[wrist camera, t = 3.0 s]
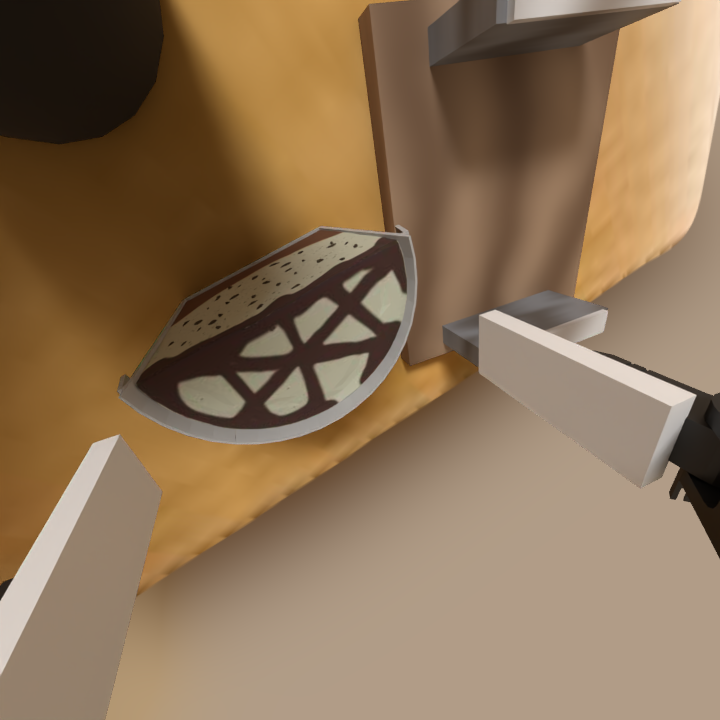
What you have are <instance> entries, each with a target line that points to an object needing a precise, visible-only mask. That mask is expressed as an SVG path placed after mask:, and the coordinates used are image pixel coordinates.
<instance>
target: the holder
mask: <svg viewBox="0 0 720 720" xmlns="http://www.w3.org/2000/svg"><path fill="white" fill-rule="evenodd" d="M679 2H681V0H409V1H398V2H386V3H375V4H369V5H368V6H367V8H366V9H365V10H364V12H363V13H362V14H361V16H360V17H359V19H358V21H359V29H360V37H361V45H362V53H363V60H364V68H365V76H366V84H367V92H368V100H369V107H370V115H371V123H372V131H373V139H374V147H375V154H376V162H377V170H378V178H379V186H380V194H381V201H382V209H383V217H384V225H385V232H390V233H396V229H395V226H396V225H400V226H402V227H403V228H405V229H406V230H408V231H409V235H410V236H411V240H412V244H413V248H414V253H415V257H416V269H417V299H416V307H415V312H414V317H413V322H412V326H411V329H410V332H409V334H408V337H407V340H406V343H405V345H404V347H403V349H402V351H401V358H402V359H403V360H404V361H405V362H406V363H407V364H409V365H410V366H412V365H414V364H417V363H420V362H423V361H426V360H428V359H431V358H434V357H437V356H439V355H442V354H445V353H448V352H451V351H453V350H454V351H456V352H457V353H458V354H460V355H461V356H463V357H464V358H466V359H467V360H469V361H470V362H471V363H473V364H474V365H476V366H477V367H479V315H481V314H484V313H487V312H490V311H493V310H497V311H500V312H502V313H504V314H507V315H509V316H511V317H514V318H516V319H519V320H521V321H523V322H526V323H528V324H530V325H533V326H535V327H537V328H540V329H542V330H544V331H547V332H549V333H552V334H554V335H556V336H559V337H561V338H563V339H566V340H568V341H570V342H573V343H576V342H579V341H581V340H584V339H586V338H589V337H592V336H594V335H596V334H599V333H602V332H604V327H605V323H606V319H607V315H608V311H607V310H608V308H607V307H604V306H600V305H597V304H594V303H590V302H587V301H583V300H580V299H577V298H574V293H575V287H576V281H577V275H578V269H579V264H580V258H581V252H582V246H583V240H584V234H585V228H586V223H587V217H588V211H589V205H590V199H591V193H592V188H593V182H594V176H595V170H596V164H597V158H598V152H599V147H600V141H601V135H602V129H603V123H604V117H605V111H606V106H607V100H608V94H609V88H610V82H611V76H612V71H613V65H614V59H615V53H616V47H617V41H618V35H619V30H620V28H622V27H625V26H627V25H629V24H632V23H634V22H636V21H639V20H641V19H643V18H646V17H648V16H650V15H653V14H655V13H657V12H660V11H662V10H664V9H667V8H669V7H671V6H674V5H676V4H678V3H679Z"/></svg>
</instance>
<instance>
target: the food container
mask: <svg viewBox="0 0 720 720" xmlns="http://www.w3.org/2000/svg"><path fill="white" fill-rule="evenodd" d="M395 229H396V233H390V232H380V231H369V230H359V229H348V228H338V227H327V226H320V227H318V228H316V229H314V230H312V231H310V232H309V233H307V234H305V235H303V236H301V237H299V238H297V239H296V240H294V241H292V242H290V243H288V244H286V245H284V246H282V247H281V248H279V249H277V250H275V251H273V252H271V253H269V254H268V255H266V256H264V257H262V258H260V259H258V260H256V261H254V262H253V263H251V264H249V265H247V266H245V267H243V268H241V269H240V270H238V271H236V272H234V273H232V274H230V275H228V276H226V277H225V278H223V279H221V280H219V281H217V282H215V283H213V284H212V285H210V286H208V287H206V288H204V289H202V290H200V291H198V292H197V293H195V294H193V295H191V296H189V297H187V298H185V299H184V300H182V302H181V303H180V305H179V306H178V308H177V309H176V311H175V312H174V314H173V315H172V317H171V318H170V320H169V321H168V323H167V324H166V326H165V327H164V329H163V330H162V332H161V333H160V335H159V336H158V338H157V339H156V341H155V342H154V344H153V345H152V347H151V348H150V349H149V351H148V352H147V354H146V355H145V357H144V358H143V360H142V361H141V363H140V364H139V366H138V367H137V369H136V370H135V372H134V373H133V375H132V376H131V378H129V377H128V376H127V375H125V374H124V375H123V376H121V378H120V382H119V386H118V390H117V392H118V393H119V394H120V396H119V399H121V400H122V401H123V402H125V403H126V404H127V405H129V406H130V407H132V408H133V409H134V410H136V411H137V412H138V413H140V414H142V415H143V416H145V417H147V418H149V419H151V420H152V421H154V422H156V423H158V424H160V425H162V426H163V427H166V428H169V429H171V430H174V431H176V432H179V433H182V434H184V435H187V436H191V437H195V438H199V439H203V440H207V441H211V442H219V443H228V444H264V443H272V442H280V441H284V440H288V439H292V438H296V437H300V436H303V435H306V434H308V433H311V432H314V431H316V430H319V429H322V428H323V427H325V426H327V425H329V424H331V423H333V422H335V421H337V420H339V419H340V418H342V417H343V416H345V415H346V414H348V413H349V412H351V411H352V410H353V409H355V408H356V407H357V406H359V405H360V404H361V403H362V402H363V401H364V400H365V399H366V398H368V397H369V396H370V395H371V394H372V393H373V392H374V391H375V389H376V388H377V387H378V386H379V385H380V384H381V383H382V382H383V380H384V379H385V378H386V376H387V375H388V373H389V372H390V370H391V369H392V367H393V366H394V365H395V363H396V361H397V359H398V357H399V355H400V353H401V351H402V349H403V347H404V345H405V343H406V340H407V337H408V334H409V332H410V329H411V326H412V322H413V317H414V312H415V307H416V299H417V269H416V257H415V253H414V248H413V244H412V240H411V236H410V235H409V231H408V230H406V229H405V228H403V227H402V226H400V225H396V226H395Z"/></svg>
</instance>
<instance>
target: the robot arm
mask: <svg viewBox="0 0 720 720" xmlns="http://www.w3.org/2000/svg"><path fill="white" fill-rule="evenodd" d="M479 374H481V375H482V376H483V377H485V378H486V379H488V380H489V381H490V382H492V383H493V384H495V385H496V386H498V387H499V388H500V389H502V390H503V391H504V392H506V393H507V394H509V395H510V396H511V397H513V398H514V399H516V400H517V401H518V402H520V403H521V404H523V405H524V406H525V407H527V408H528V409H530V410H531V411H532V412H534V413H535V414H537V415H538V416H539V417H541V418H542V419H544V420H545V421H546V422H548V423H549V424H551V425H552V426H553V427H555V428H556V429H558V430H559V431H560V432H562V433H563V434H565V435H566V436H567V437H569V438H570V439H572V440H573V441H574V442H576V443H577V444H579V445H580V446H581V447H583V448H584V449H586V450H587V451H588V452H590V453H591V454H593V455H594V456H595V457H597V458H598V459H600V460H601V461H602V462H604V463H605V464H607V465H608V466H609V467H611V468H612V469H614V470H615V471H616V472H618V473H619V474H621V475H622V476H623V477H625V478H626V479H628V480H629V481H630V482H632V483H633V484H635V485H636V486H637V487H639V488H642V487H644V486H646V485H648V484H650V483H652V482H653V481H656V480H658V479H659V478H661V477H662V476H663V473H664V471H665V468H666V466H667V464H668V461H671V462H672V463H674V464H675V465H677V466H679V467H680V469H679V471H678V473H677V476H676V478H675V480H674V483H673V485H672V487H671V489H670V491H669V494H670V499H674V500H675V499H676V498H677V496H678V494H679V492H680V490H681V488H684V490H685V492H686V494H685V496H684V501H687V502H691V504H692V506H693V508H694V510H695V511H696V514H697V516H698V517H699V519H700V521H701V523H702V525H703V527H704V529H705V531H706V533H707V535H708V537H709V539H710V540H711V543H712V544H713V546H714V548H715V550H716V552H717V554H718V556H719V558H720V393H718V394H715V395H714V396H713V395H710V394H707V393H705V392H702V391H700V390H697V389H695V388H692V387H690V386H687V385H685V384H682V383H680V382H678V381H675V380H673V379H670V378H668V377H666V376H663V375H661V374H658V373H656V372H653V371H651V370H649V371H647V370H646V368H644V367H641V366H639V365H636V364H631V362H629V361H627V360H624V359H622V358H619V357H617V356H615V355H611V354H606V353H602V352H598V351H593V350H589V349H587V348H585V347H582V346H580V345H578V344H575V343H573V342H570V341H568V340H566V339H563V338H561V337H559V336H556V335H554V334H552V333H549V332H547V331H544V330H542V329H540V328H537V327H535V326H533V325H530V324H528V323H526V322H523V321H521V320H519V319H516V318H514V317H511V316H509V315H507V314H504V313H502V312H500V311H497V310H493V311H490V312H487V313H484V314H481V315H479ZM161 495H162V490H161V489H160V488H159V486H158V485H157V484H156V482H155V481H154V480H153V478H152V477H151V476H150V474H149V473H148V472H147V470H146V469H145V467H144V466H143V465H142V463H141V462H140V461H139V459H138V458H137V457H136V455H135V454H134V453H133V451H132V450H131V449H130V447H129V446H128V444H127V443H126V442H125V440H124V439H123V438H122V436H121V435H120V434H119V435H116V436H113V437H110V438H107V439H104V440H101V441H98V442H95V443H93V444H92V446H91V447H90V449H89V451H88V453H87V454H86V456H85V458H84V459H83V461H82V463H81V464H80V466H79V468H78V470H77V471H76V473H75V475H74V476H73V478H72V480H71V481H70V483H69V485H68V487H67V488H66V490H65V492H64V493H63V495H62V497H61V499H60V500H59V502H58V504H57V505H56V507H55V509H54V510H53V512H52V514H51V516H50V517H49V519H48V521H47V522H46V524H45V526H44V527H43V529H42V531H41V533H40V534H39V536H38V538H37V539H36V541H35V543H34V545H33V546H32V548H31V550H30V551H29V553H28V555H27V556H26V558H25V560H24V562H23V563H22V565H21V567H20V568H19V570H18V572H17V573H16V575H15V577H14V578H12V579H10V580H7V581H4V582H3V583H2V584H1V586H0V720H105V718H106V714H107V710H108V706H109V702H110V698H111V694H112V690H113V686H114V682H115V678H116V674H117V670H118V666H119V662H120V658H121V654H122V650H123V646H124V642H125V638H126V634H127V630H128V627H129V623H130V619H131V615H132V611H133V606H134V602H135V599H136V595H137V591H138V587H139V583H140V579H141V575H142V571H143V567H144V563H145V559H146V555H147V551H148V547H149V543H150V539H151V535H152V531H153V527H154V523H155V519H156V515H157V511H158V507H159V503H160V499H161Z"/></svg>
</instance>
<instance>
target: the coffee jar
mask: <svg viewBox="0 0 720 720" xmlns="http://www.w3.org/2000/svg"><path fill="white" fill-rule="evenodd" d="M163 37H164V34H163V26H162V18H161V9H160V1H159V0H0V135H2V136H6V137H11V138H18V139H25V140H33V141H40V142H47V143H54V144H64V143H70V142H75V141H81V140H86V139H92V138H97V137H103V136H104V135H106V134H107V133H109V132H110V131H112V130H113V129H115V128H116V127H118V126H119V125H121V124H122V123H124V122H125V121H127V120H128V119H130V118H131V117H133V116H135V114H136V113H137V111H138V109H139V108H140V106H141V104H142V103H143V101H144V100H145V98H146V96H147V95H148V93H149V91H150V90H151V88H152V87H153V85H154V83H155V82H156V77H157V71H158V65H159V60H160V54H161V48H162V42H163Z"/></svg>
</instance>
